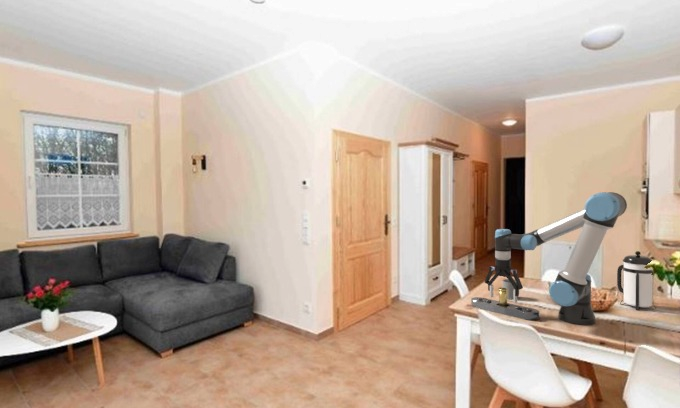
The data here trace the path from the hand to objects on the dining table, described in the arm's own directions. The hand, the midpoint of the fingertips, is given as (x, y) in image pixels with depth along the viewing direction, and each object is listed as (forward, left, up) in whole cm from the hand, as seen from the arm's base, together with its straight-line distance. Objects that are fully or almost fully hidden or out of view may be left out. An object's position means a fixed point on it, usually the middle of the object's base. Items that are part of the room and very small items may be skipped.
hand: (503, 299), depth 191 cm
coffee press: (-45, -57, -7) cm, 73 cm away
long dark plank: (0, 0, -6) cm, 6 cm away
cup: (+8, -27, -7) cm, 29 cm away
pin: (0, 0, -6) cm, 6 cm away
